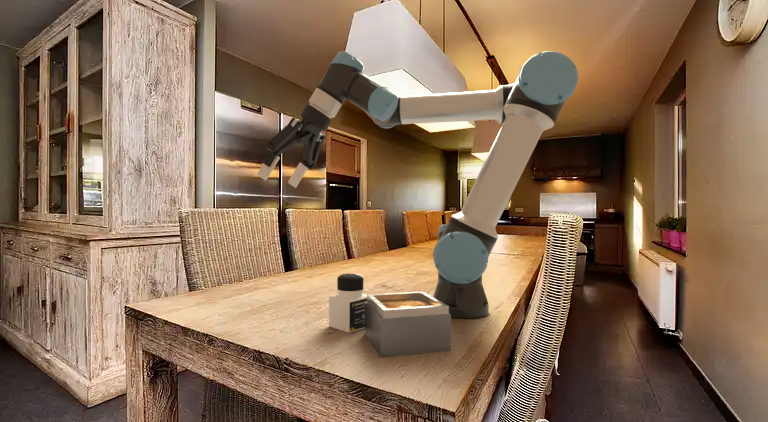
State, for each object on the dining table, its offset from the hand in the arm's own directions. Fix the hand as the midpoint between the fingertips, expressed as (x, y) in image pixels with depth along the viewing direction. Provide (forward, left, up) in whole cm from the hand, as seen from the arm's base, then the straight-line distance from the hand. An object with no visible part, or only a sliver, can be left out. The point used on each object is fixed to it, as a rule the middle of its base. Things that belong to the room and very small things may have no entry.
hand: (277, 181), depth 95 cm
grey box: (-25, +28, -34) cm, 51 cm away
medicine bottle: (-16, +16, -34) cm, 41 cm away
